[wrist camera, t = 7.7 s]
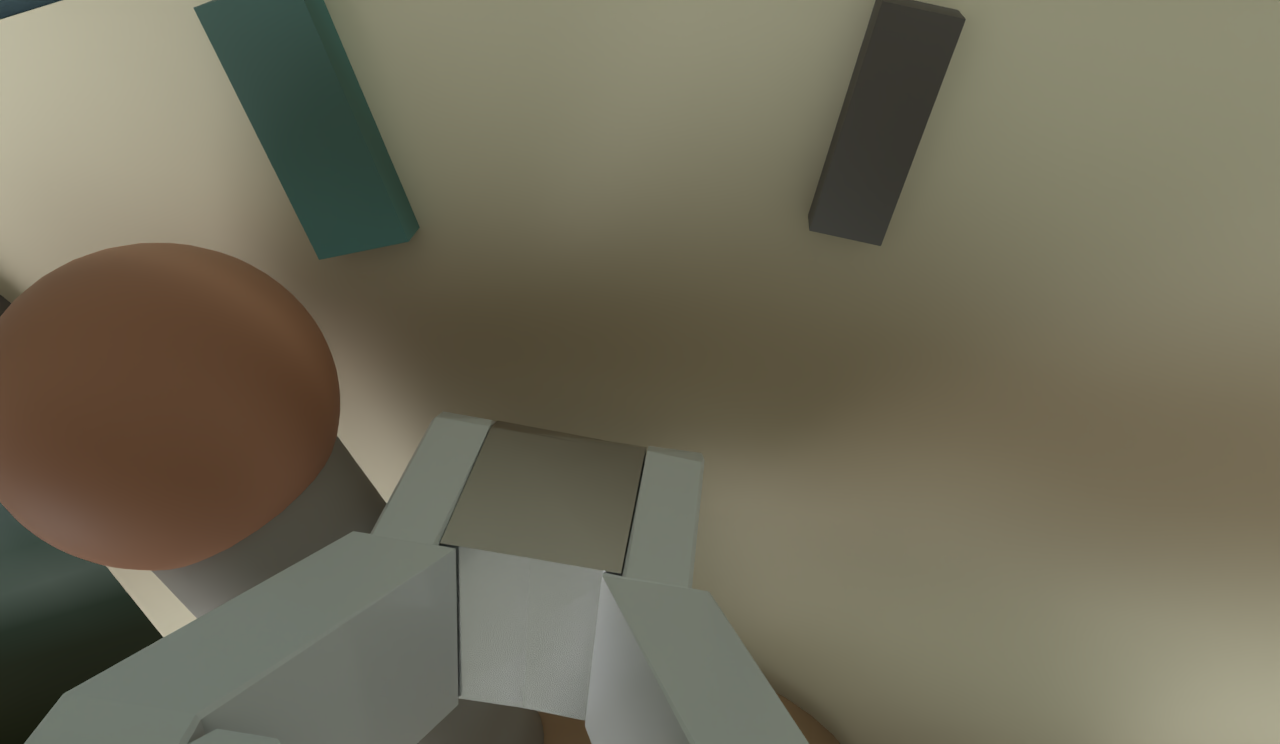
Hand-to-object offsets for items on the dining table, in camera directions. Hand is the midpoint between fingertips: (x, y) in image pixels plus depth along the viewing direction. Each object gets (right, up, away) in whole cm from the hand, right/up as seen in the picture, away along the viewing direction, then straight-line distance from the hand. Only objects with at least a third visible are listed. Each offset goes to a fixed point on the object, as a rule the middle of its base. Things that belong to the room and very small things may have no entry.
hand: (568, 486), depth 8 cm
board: (+2, -5, +5) cm, 7 cm away
